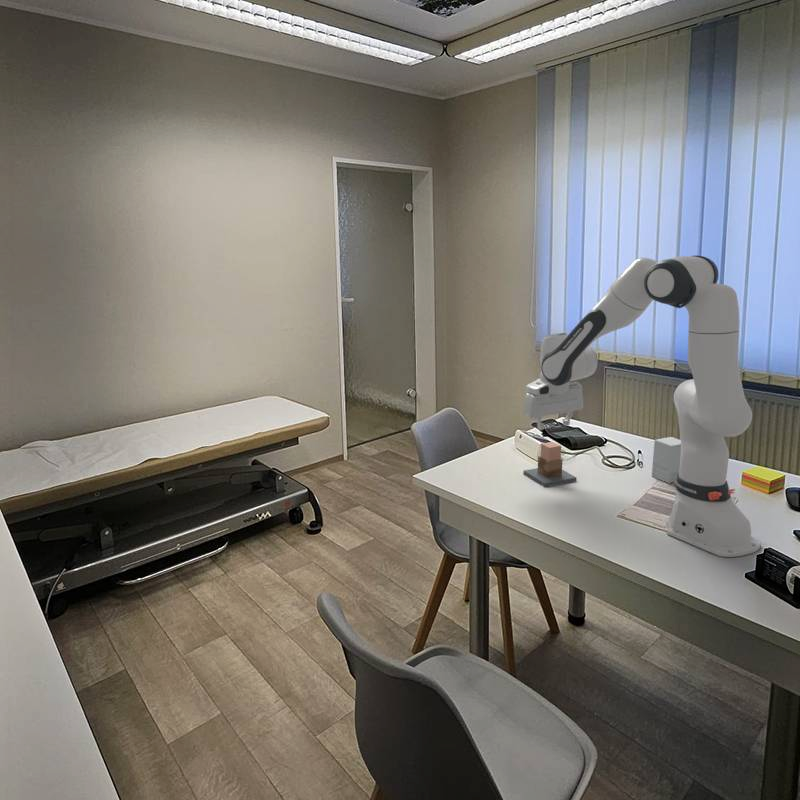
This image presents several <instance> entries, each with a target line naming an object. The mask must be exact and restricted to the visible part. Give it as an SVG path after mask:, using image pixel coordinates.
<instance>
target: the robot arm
mask: <svg viewBox="0 0 800 800" xmlns="http://www.w3.org/2000/svg"><path fill="white" fill-rule="evenodd" d="M718 280H719V269H718V266H717V265H716V263H715V262H714V260H712V259H710V258H708V257H706V256H702V255H690V256H686V255H681V256H675V257H671V258H666V259H662V260H660V261H656V260H655V259H652V258H648V257H640V258H637V259H635V260H634V261H632V262H631V263H630V264H629V265H628V266H627V267H625V269H624V270H623V271H622V272H621V273H620V274H619V275H618V276H617V278H616V279H615V280H614V281H613V283H612V284H611V285H610V287H609V288H608V290H607V291H606V292H605V293H604V295H603V296H601V298H600V300H599V301H598V302H597V303H596V304H595V306H594V307H593V308H592V309H591V310H589V312H587V314H586V315H585V316H584V317H583V318H581V320H580V321H579V322H578V323H577V325H575V327H574V328H573V329H572V330H571V331H570V332H569V334H568V333H566V332H559V333H553V334H548V335H545V336H544V337H543V339H542V341H541V347H540V354H539V355H540V357H539V358H540V366H541V369H540V373H539V378H537V379H536V380H534V381H532V382H530V383H528V384H526V385H525V391H526V392H527V393H526V394H525V396H524V400H523V413H524V416H526V417H527V418H530V419H534V420H535V423H536V425H537V429H538V430H539V431H542V430H545V423H542V421H541V420H542V419H543V417H547V416H554V415H559V414H566V415H565V417H564V418H563V419H562V425H563V426H566V427H567V426H570V422H571V419H572V417H573V416H574V412H577V411H582V410H583V408H584V395H583V385H582V383H580V382H579V381H578V380H581V379H586V378H588V377H591V376H593V375H594V374H595V373H596V372H597V369H598V366H599V358H598V355H597V354H596V351H595V350H593V349H592V348H591V347H590V345H592V343H594V342H595V341H597V339H599V338H602V336H605V335H607V334H610V333H613V332H614V331H615V332H616V331H618V330H621V329H623V328H625V327H629V326H630V325H632V324H633V323H634V322H635V321H636V320H638V319H639V318H640V317H641V316H642V314H643V313H644V312H646V310H647V308H648V307H649V306H650V305H651V303H652V302H653V301H656V302H657V303H660V304H664V305H668V306H671V307H674V308H677V309H681V308H685V309H686V311H687V313H688V330H687V331H688V333H687V334H688V335H687V363H688V366H689V368H690V371H691V374H692V379H688V380H687V379H686V380H685V381H683V382H681V383H680V384H678V386H677V387H676V389H675V390H674V392H673V403H674V406H675V409H676V411H677V412H676V413H677V418H678V428H679V435H680V440H681V457H680V468H679V474H678V475H677V479H676V482H675V489H676V493H675V497H674V502H673V506H672V509H671V512H670V515H669V517H668V519H667V521H666V525H667V532H666V534H667V535H668V536H671V537H673V538H676V539H678V540H681V541H683V542H686V543H688V544H690V545H693V546H694V547H696V548H700V549H701V550H704V551H707V552H708V553H711V554H714V555H715V556H719V557H725V558H732V557H733V558H734V557H741V556H746V555H750V554H753V553H755V552H757V551H759V550H760V548H761V541H759V540H758V539H756V538H754V537H753V536H752V526H751V522H750V520H749V519H748V518H747V517H746V515H745V514H744V513H743V512H742V511H741V510H740V508H739V507H738V506H737V504H736V503H735V502H734V501H733V500H732V498H731V497H732V496H731V494H735V493H736V492H735V491H736V488H732V489H730V487H729V483H728V481H727V476H728V468H729V467H728V466H729V459H730V452H729V451H730V450H729V448H728V445H727V443H726V439H725V437H726V438H734V437H737V436H739V435H742V434H743V433H744V432H745V431H747V429H749V427H750V425H751V422H752V420H753V412H752V411H753V410H752V408H751V407H750V405H749V403H748V401H747V399H746V395H745V392H744V387H743V383H742V377H741V373H740V365H739V343H740V342H739V339H740V308H739V300H738V296H737V292H736V290H735V289H734V288H733V287H731V286H729V285H727V284H724V283H718Z"/></svg>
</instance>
